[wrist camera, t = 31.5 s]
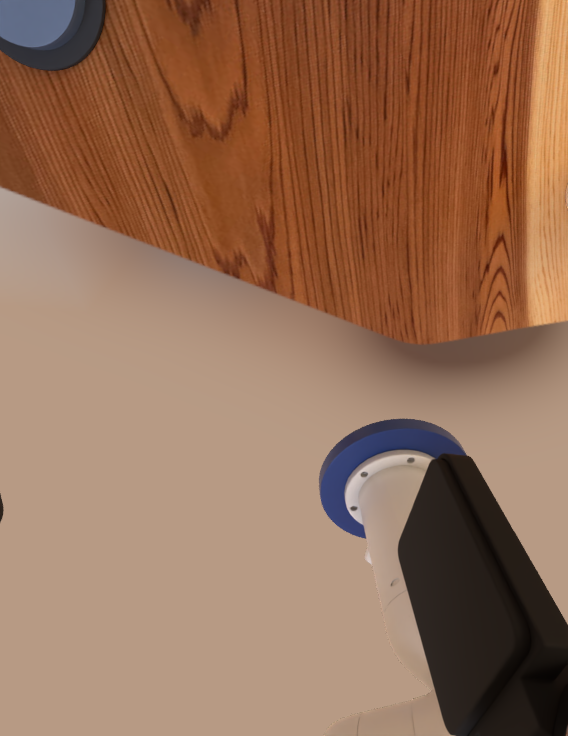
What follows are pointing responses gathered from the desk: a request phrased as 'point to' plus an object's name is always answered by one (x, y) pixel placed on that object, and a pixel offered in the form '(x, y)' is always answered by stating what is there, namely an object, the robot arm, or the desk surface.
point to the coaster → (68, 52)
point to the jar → (567, 196)
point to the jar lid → (40, 22)
